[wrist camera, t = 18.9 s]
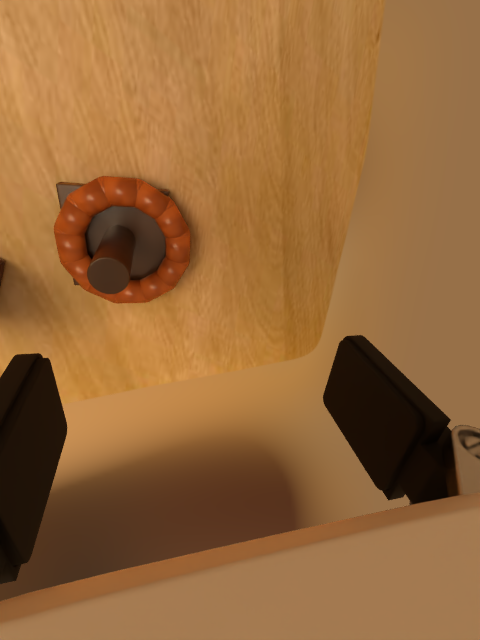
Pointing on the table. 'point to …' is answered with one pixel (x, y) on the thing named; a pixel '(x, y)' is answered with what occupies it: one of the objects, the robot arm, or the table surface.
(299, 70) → the table surface
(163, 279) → the ring
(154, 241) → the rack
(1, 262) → the box
